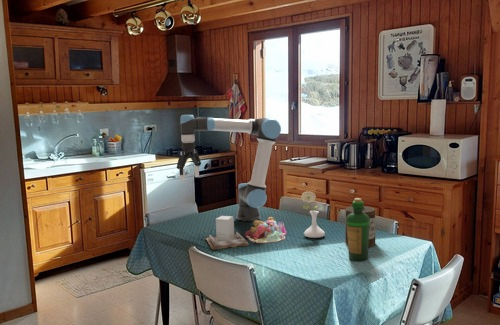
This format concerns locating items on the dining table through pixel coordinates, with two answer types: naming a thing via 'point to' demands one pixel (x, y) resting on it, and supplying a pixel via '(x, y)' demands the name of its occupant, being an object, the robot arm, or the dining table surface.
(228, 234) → the supplement box
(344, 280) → the dining table surface
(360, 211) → the bottle
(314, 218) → the flower in vase
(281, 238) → the candy landscape model
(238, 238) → the board
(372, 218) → the wooden container
